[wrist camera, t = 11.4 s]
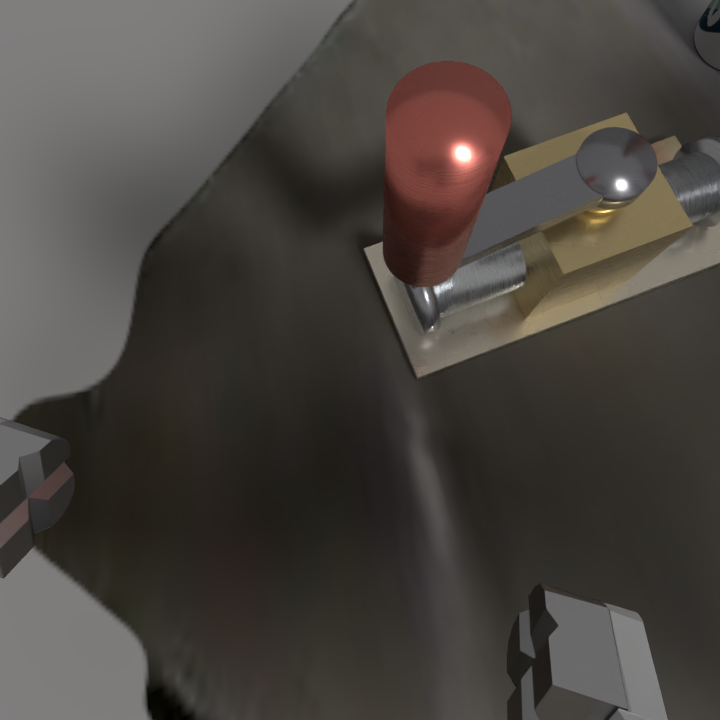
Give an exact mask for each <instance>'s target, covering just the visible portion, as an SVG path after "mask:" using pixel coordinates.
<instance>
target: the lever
mask: <svg viewBox="0 0 720 720" xmlns="http://www.w3.org/2000/svg"><path fill="white" fill-rule="evenodd" d="M511 119H512V114H511V106H510V102H509V99H508V96H507V95H506V93H505V91H504V89H503V88H502V86H501V85H500V84H499V83H498V82H497V81H496V80H495V79H494V78H493V77H492V76H491V75H490V74H488V73H487V72H485V71H483V70H482V69H480V68H478V67H475V66H473V65H470V64H467V63H462V62H455V61H441V62H434V63H429V64H426V65H423V66H420V67H418V68H416V69H414V70H413V71H411V72H410V73H408V74H407V75H406V76H404V77H403V78H402V79H401V80H400V81H399V82H398V83H397V85H396V86H395V88H394V89H393V91H392V93H391V95H390V97H389V100H388V103H387V109H386V140H385V177H384V214H383V258H384V261H385V263H386V266H387V267H388V269H389V271H390V272H391V273H392V274H393V275H394V276H395V277H396V278H397V279H399V280H400V281H402V282H404V283H406V284H408V285H411V286H412V288H413V289H415V288H417V287H431V286H435V285H438V284H441V283H443V282H445V281H446V280H448V279H449V278H450V277H451V276H453V275H454V273H455V272H456V271H457V269H459V268H461V267H464V266H466V265H468V264H470V263H472V262H475V261H477V260H479V259H481V258H483V257H485V256H488V255H490V254H492V253H494V252H496V251H499V250H501V249H503V248H505V247H507V246H510V245H512V244H514V243H516V242H518V241H521V240H523V239H525V238H527V237H529V236H532V235H534V234H536V233H538V232H540V231H543V230H545V229H547V228H549V227H551V226H554V225H556V224H558V223H560V222H562V221H565V220H567V219H569V218H571V217H573V216H575V215H578V214H580V213H582V212H584V211H586V210H589V209H591V208H593V207H597V208H601V209H619V208H623V207H626V206H628V205H630V204H632V203H633V202H634V201H635V200H636V199H637V198H638V197H639V196H640V195H641V194H642V193H643V192H644V191H645V189H646V188H647V187H648V186H649V185H650V184H651V182H652V181H653V179H654V178H655V175H656V173H657V165H658V163H657V157H656V154H655V151H654V149H653V148H652V146H651V145H650V143H649V142H648V141H647V140H646V139H645V138H644V137H642V136H641V135H640V134H638V133H636V132H634V131H632V130H629V129H626V128H621V127H607V128H603V129H600V130H597V131H595V132H593V133H592V134H590V135H589V136H588V137H587V138H586V139H585V140H584V141H583V143H582V144H581V146H580V148H579V150H578V151H577V153H576V154H575V155H572V156H570V157H568V158H566V159H563V160H561V161H559V162H557V163H554V164H552V165H550V166H548V167H545V168H543V169H541V170H539V171H536V172H534V173H532V174H530V175H527V176H525V177H523V178H521V179H518V180H516V181H514V182H512V183H510V184H507V185H505V186H503V187H501V188H498V189H496V190H494V191H492V192H489V193H487V190H488V187H489V185H490V182H491V179H492V176H493V174H494V171H495V168H496V166H497V163H498V160H499V157H500V155H501V152H502V149H503V146H504V144H505V141H506V138H507V136H508V133H509V130H510V126H511ZM486 193H487V194H486Z"/></svg>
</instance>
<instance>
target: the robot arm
mask: <svg viewBox="0 0 720 720" xmlns="http://www.w3.org/2000/svg"><path fill="white" fill-rule="evenodd" d="M70 456H71V453H70V447H69V442H68V440H65V439H63V438H61V437H58V436H55V435H52V434H49V433H46V432H43V431H40V430H37V429H34V428H31V427H28V426H25V425H22V424H19V423H16V422H13V421H10V420H7V419H3V418H0V577H1V578H4V577H6V575H7V574H8V573H9V572H10V571H11V570H12V569H13V568H14V567H15V566H16V565H17V564H18V563H19V561H20V560H21V559H22V558H23V557H24V556H25V555H26V554H27V553H28V552H29V551H30V550H31V549H32V548H33V547H34V538H35V533H37V532H39V531H42V530H44V529H46V528H49V527H51V526H53V525H54V524H55V523H56V522H57V520H58V519H59V518H60V517H61V516H62V515H63V514H64V512H65V510H66V509H67V507H68V505H69V503H70V501H71V499H72V497H73V492H74V486H75V482H74V474H73V473H72V471H71V470H70V469H69V467H68V466H67V465H66V464H65V461H66V460H67V459H68V458H69V457H70ZM507 674H508V676H509V677H510V679H511V681H512V683H513V684H514V686H515V690H514V692H513V693H512V695H511V696H510V698H509V700H508V701H507V720H668V718H667V715H666V711H665V707H664V703H663V699H662V695H661V691H660V687H659V683H658V679H657V675H656V671H655V667H654V663H653V660H652V656H651V652H650V648H649V644H648V640H647V636H646V632H645V628H644V624H643V620H642V619H641V617H640V616H639V614H638V613H637V612H634V611H630V610H627V609H624V608H620V607H617V606H614V605H611V604H607V603H602V602H601V601H599V600H596V599H592V598H589V597H585V596H582V595H578V594H575V593H572V592H568V591H565V590H561V589H558V588H555V587H551V586H548V585H544V584H541V583H539V584H538V585H536V586H535V587H534V588H533V590H532V592H531V593H530V595H529V610H526V611H524V612H521V613H519V615H518V617H517V619H516V621H515V623H514V624H513V627H512V631H511V634H510V638H509V642H508V651H507Z"/></svg>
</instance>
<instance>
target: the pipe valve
mask: <svg viewBox="0 0 720 720" xmlns="http://www.w3.org/2000/svg"><path fill="white" fill-rule="evenodd" d="M607 127H621V128H626V129H629V130H632V131H634V132H636V133H638V131H637V129H636V128H635V126H634V124H633V122H632V121H631V119H630V117H629V116H628V114H627V112H626V113H623V114H621V115H618V116H615V117H612V118H609V119H607V120H604V121H601V122H598V123H595V124H593V125H590V126H587V127H584V128H582V129H579V130H576V131H573V132H570V133H568V134H565V135H562V136H559V137H556V138H554V139H551V140H548V141H545V142H543V143H540V144H537V145H534V146H531V147H529V148H526V149H523V150H520V151H517V152H515V153H512V154H509V155H506V156H504V157H503V160H502V162H501V165H500V168H499V170H498V173H497V176H496V178H495V181H494V183H493V186H492V189H491V191H490V192H492V191H494V190H496V189H498V188H501V187H503V186H505V185H507V184H510V183H512V182H514V181H516V180H518V179H521V178H523V177H525V176H527V175H530V174H532V173H534V172H536V171H539V170H541V169H543V168H545V167H548V166H550V165H552V164H554V163H557V162H559V161H561V160H563V159H566V158H568V157H570V156H572V155H575V154H576V153H577V151H578V150H579V148H580V146H581V144H582V143H583V141H584V140H585V139H586V138H587V137H588V136H589V135H590V134H592V133H593V132H595V131H597V130H600V129H603V128H607ZM638 134H639V133H638ZM650 145H651V146H652V148H653V149H654V151H655V154H656V157H657V163H658V165H657V173H656V175H655V178H654V179H653V181H652V182H651V184H650V185H649V186H648V187H647V188H646V189H645V191H644V192H643V193H642V194H641V195H640V196H639V197H638V198H637V199H636V200H635V201H634V202H633V203H632V204H630V205H628V206H626V207H623V208H619V209H601V208H597V207H593V208H591V209H589V210H586V211H584V212H582V213H580V214H578V215H575V216H573V217H571V218H569V219H567V220H565V221H562V222H560V223H558V224H556V225H554V226H551V227H549V228H547V229H545V230H543V231H540V232H538V233H536V234H534V235H532V236H529V237H527V238H525V239H523V240H521V241H518V242H516V243H514V244H512V245H510V246H507V247H505V248H503V249H501V250H499V251H496V252H494V253H492V254H490V255H488V256H485V257H483V258H481V259H479V260H477V261H475V262H472V263H470V264H468V265H466V266H464V267H461V268H459V269H457V271H456V272H455V273H454V275H453V276H451V277H450V278H449V279H448V280H446V281H445V282H443V283H441V284H438V285H435V286H431V287H417V288H415V289H413V288H412V286H411V285H408V284H406V283H404V282H402V281H400V280H399V279H397V278H396V277H395V276H394V275H393V274H392V273H391V272H390V271H389V269H388V267H387V266H386V263H385V261H384V258H383V242H380V243H378V244H375V245H372V246H369V247H367V248H364V255H365V257H366V260H367V262H368V264H369V267H370V269H371V272H372V274H373V276H374V279H375V281H376V284H377V286H378V288H379V291H380V293H381V296H382V298H383V300H384V303H385V305H386V308H387V310H388V313H389V315H390V317H391V320H392V322H393V325H394V327H395V329H396V332H397V334H398V337H399V339H400V341H401V344H402V346H403V349H404V351H405V353H406V356H407V358H408V361H409V363H410V365H411V368H412V370H413V373H414V375H415V377H416V380H419V379H422V378H424V377H427V376H429V375H432V374H435V373H437V372H440V371H443V370H445V369H448V368H450V367H453V366H456V365H458V364H461V363H464V362H466V361H469V360H471V359H474V358H477V357H479V356H482V355H484V354H487V353H490V352H492V351H495V350H498V349H500V348H503V347H505V346H508V345H511V344H513V343H516V342H519V341H521V340H524V339H526V338H529V337H532V336H534V335H537V334H540V333H542V332H545V331H547V330H550V329H553V328H555V327H558V326H561V325H563V324H566V323H568V322H571V321H574V320H576V319H579V318H582V317H584V316H587V315H589V314H592V313H595V312H597V311H600V310H603V309H605V308H608V307H610V306H613V305H616V304H618V303H621V302H624V301H626V300H629V299H631V298H634V297H637V296H639V295H642V294H645V293H647V292H650V291H652V290H655V289H658V288H660V287H663V286H665V285H668V284H671V283H673V282H676V281H679V280H681V279H684V278H686V277H689V276H692V275H694V274H697V273H700V272H702V271H705V270H707V269H710V268H713V267H715V266H718V265H720V136H707V137H703V138H701V139H698V140H695V141H692V142H690V143H687V144H685V145H684V146H681V144H680V143H679V141H678V139H677V138H676V136H672V137H669V138H666V139H664V140H661V141H658V142H655V143H653V144H650Z"/></svg>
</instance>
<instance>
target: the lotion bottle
mask: <svg viewBox="0 0 720 720" xmlns="http://www.w3.org/2000/svg"><path fill="white" fill-rule="evenodd" d="M694 40H695V45H696V48H697V51H698V52H699V54H700V56H701V57H702V58H703V59H704V60H705V61H706V62H707V63H708V64H710V65H711V66H713V67H714V68H716V69H718V70H720V0H712V2H711V3H710V5H709V6H708V8H707V9H706V11H705V12H704V14H703V15H702V17H701V19H700V20H699V22H698V24H697V27H696V29H695V34H694Z"/></svg>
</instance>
